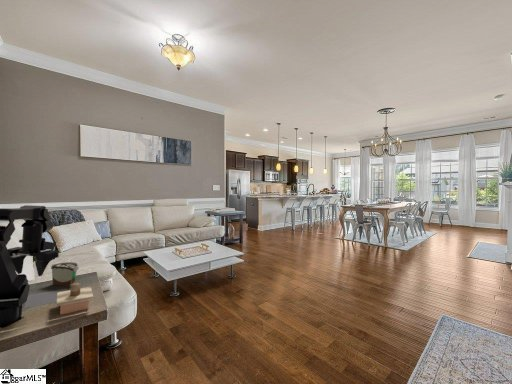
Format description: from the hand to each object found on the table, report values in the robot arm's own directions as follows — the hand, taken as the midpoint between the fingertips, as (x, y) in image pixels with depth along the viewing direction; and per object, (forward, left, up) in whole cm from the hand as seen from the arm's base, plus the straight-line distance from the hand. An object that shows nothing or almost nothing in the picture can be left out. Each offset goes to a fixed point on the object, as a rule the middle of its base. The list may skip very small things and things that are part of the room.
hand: (29, 274), depth 92 cm
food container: (+20, +2, -12) cm, 23 cm away
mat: (+5, -3, -12) cm, 13 cm away
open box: (+1, -19, -12) cm, 23 cm away
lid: (+1, -19, -8) cm, 20 cm away
